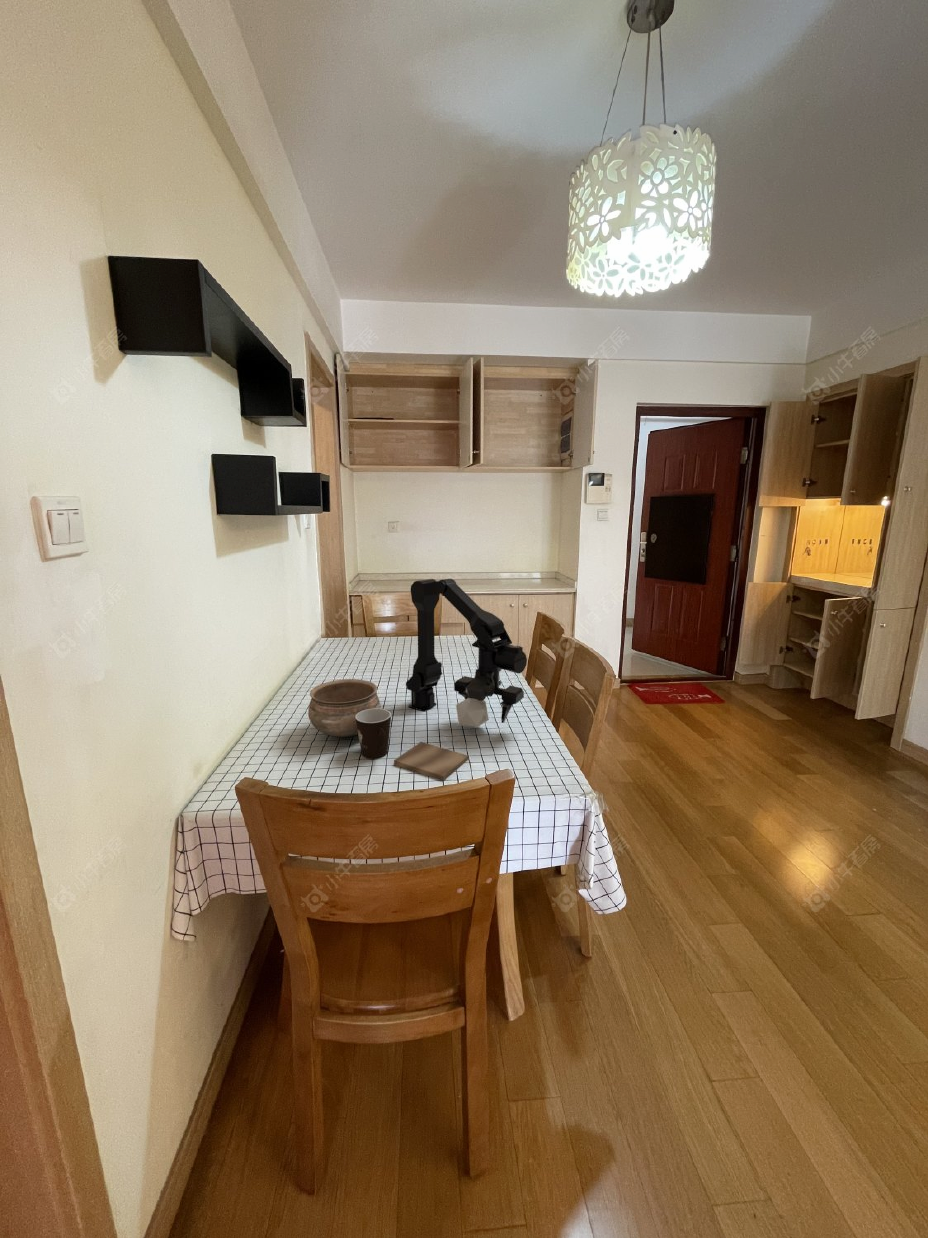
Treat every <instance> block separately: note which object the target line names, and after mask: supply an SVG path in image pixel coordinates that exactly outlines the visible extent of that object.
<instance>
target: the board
mask: <svg viewBox="0 0 928 1238" xmlns="http://www.w3.org/2000/svg"><path fill="white" fill-rule="evenodd" d="M468 761H469V755H468V754H465V753H461V752H457V751H454V750H451V749H447V748H444V747H441V746H437V745H434V744H430V743H427V742H424V741H423V742H422V741H420V742H419V743H417V744H415V745H414V746H413V747H411V748H409V749H408V750H407V751H405V752H404V753H403V754H401V755H399V756H398V757H397V758H395V759H394V760H393V765H394V766H396V767H399V768H401V769H406V770H409V771H412V772H414V773H418V774H421V775H424V776H426V777H430V778H433V779H436V780H439V781H442V782H445V781H446V780H447V779H448V778H450V776H452V775H453V774H454V773H455V772H456V771H458V769H460V768H461V767H462V766H463V765H464V764H465V763H466V762H468Z"/></svg>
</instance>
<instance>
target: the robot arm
mask: <svg viewBox="0 0 928 1238" xmlns="http://www.w3.org/2000/svg"><path fill="white" fill-rule="evenodd" d="M410 595H411V602H412V604H413V605H414V607H415V609H416V612H417V619H416V620H417V621H416V622H417V658H416V660H415V662H414V664H413V667H412V675H411V676H410V677H409V678H408V679H407V681H406V682H405V686H406V690H408V691H410V694H411V695H410V696H411V697H410V698H411V702H410V703H411V704H409V705H408V708H409V709H414V710H417V711H421V712H427V711H429V710H430V709H432V708H434V707H435V706H437V703H436V702H435V700H436V699H435V698H436V697H435V692H434V687H436V686H438V683H439V680H441V677H442V676H443V673H442V672H443V671H442V667H443V664H442V662H441V661H438V659H437V658H436V655H435V653H436V652H435V650H436V649H435V608H436V607H437V605H438V604H439V600H440V595H442V597H444V598H445V599H446V600H447V601H448V602H449V604H451V605H452V606H453V607H454V608H455V609H456V610H457V611H458V613H460V614H461V616H462V617H463V618H465V620H466V621H467V622H468V623H469V628H470V631H471V632H472V633H473V635H474V636H475V637H476V640H475V641H474V642H473V643H472V644H471V646H472V647H474V648H478V653H477V655H478V660H477V661H478V664H477V666H478V667H477V669H476V668H475V673H474V677H472V676H471V677H470V676H466V675H464V676H462V677H460V678H458V679H457V680H455V682H454V684H453V687H454V689H453V690H454V692H457V694H458V695H461V697H463V698H464V700H465V699H467V698H471V699H472V698H473V699H477V700H479V701H483V700H484V701H485V700H486V698H487V697H489V698H490V697H492V696H493V695H496V696H501V700H502V701H501V702H500V705H501V717H500V718H501V723H502V724H503V723H505V721H506V719H507V718H508V716H509V713H510V710H511V708H512V707H513V705H517V704H518V703H519V702H520V701H522V700H523V699H524V694H525V691H524V690H523V688H522V687H519V686H515V685H509V686H508V687H506V688H502V687H500V686H502V680H500V672H501V671H502V670H504V671H508V672H511V673H515V674H518V675H519V674H521V673H523V672H524V670H525V669H526V667H527V663H528V657H527V655H526V652H525V651H523V649H524V648H523V646H521V645H512V643H513V641H512V639H511V637H510V636H509V634H508V631H507V630H506V628H505V624H504V622H503V621H502V619H500V618H499V617H498V616H496V615H495V614H493V613H492V612H489V611H486V610H485V609H483V608H481V607H480V606H479V605H478V604H477V603H476V602H475V601H474V600H473V599H472V598H471V597H470V596H469V595H468V594H467V593H466V592H465V591H464V590H463V589H462V588H461V587H460V586H459V585H458V584H457V582H456V580H454V579H452V578H446V579H440V580H435V579H434V578H429V579H421V580H415V581H414V582H413V583H412V584H411V585H410Z"/></svg>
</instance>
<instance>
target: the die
mask: <svg viewBox="0 0 928 1238" xmlns="http://www.w3.org/2000/svg"><path fill="white" fill-rule="evenodd" d="M455 707H456V713H457V722H458V725H460V726H462V727H465V728H468V729H471V730H473V729H477V728H478V727H480V726H481V725H483V724H485V723H486V722H488V721H489V720H490V719H489V713H488V707H487V701H486V700H485V699H484V700H483V701H479V700H477V699H473V698H472V699H471V698H467V699H465V698H464V700H462V701H460V702H459V703H457V704H455Z"/></svg>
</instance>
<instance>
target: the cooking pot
mask: <svg viewBox="0 0 928 1238" xmlns="http://www.w3.org/2000/svg"><path fill="white" fill-rule="evenodd" d="M377 691H378V686H377V685H376V684H375V683H374V682H372V681H369V680H365V679H356V678H354V679H353V678H349V679H347V678H346V679H336V680H332V681H326V682H323V683H321V684H318V685H317V686H315V687H313V688H312V689H311V690H310V692H309V696H310V698H311V699H310V701H309V705H308V708H307V709H308V710H307V711H308V713H307V714H308V719H309V721H310V723H311V724H312V726H313V727H314V728H315V729H316V730H318V731H319V732H321V733H323V734H325V735H328V736H332V737H336V738H339V739H349V738H353V737H355V736H357V735H358V730H357V724H356V718H355V716H356V714H357V713H359V712H361V711H363V710H367V709H374V708H378V709H382V708H381V702H380V698H379V696H378V694H377Z"/></svg>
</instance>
